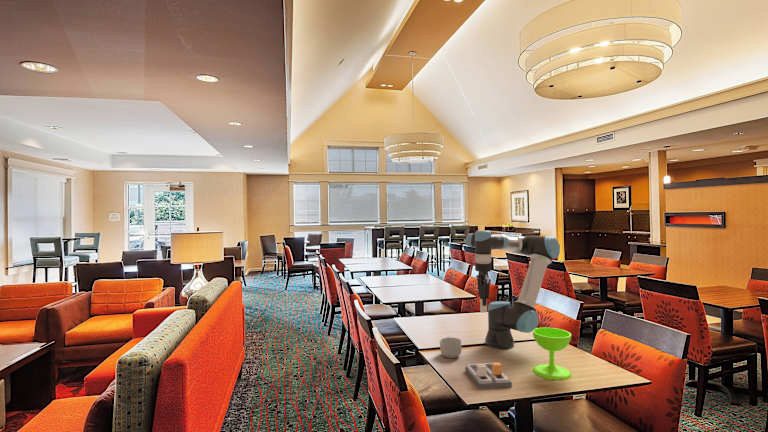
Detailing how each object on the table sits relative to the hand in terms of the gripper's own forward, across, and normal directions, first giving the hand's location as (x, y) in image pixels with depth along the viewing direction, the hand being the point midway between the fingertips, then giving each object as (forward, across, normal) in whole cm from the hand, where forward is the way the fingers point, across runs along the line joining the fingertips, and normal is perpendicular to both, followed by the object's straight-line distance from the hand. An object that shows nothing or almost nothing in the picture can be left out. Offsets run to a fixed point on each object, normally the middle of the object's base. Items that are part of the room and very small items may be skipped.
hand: (483, 311), depth 187 cm
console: (+24, +18, -5) cm, 31 cm away
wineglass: (+25, +15, +26) cm, 39 cm away
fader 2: (+22, +21, -2) cm, 31 cm away
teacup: (+25, -12, -13) cm, 30 cm away
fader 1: (+22, +22, -9) cm, 32 cm away
